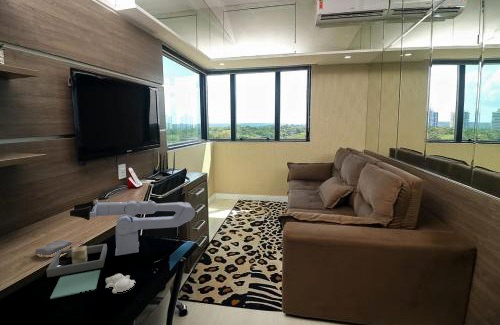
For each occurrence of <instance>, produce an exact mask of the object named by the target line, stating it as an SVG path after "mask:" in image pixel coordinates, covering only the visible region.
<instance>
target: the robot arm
mask: <svg viewBox="0 0 500 325" xmlns="http://www.w3.org/2000/svg"><path fill="white" fill-rule="evenodd" d="M156 212H175V213H174V215H172V216H157V217H156V216H153V217H151V216H150V217H137V215H138V214H139V215H149V214H150V215H151V214H155V213H156ZM104 216H106V217H107V216H119V217H118V218H117V219H116V220H117V221H116V225H115V246H116V248H115V252H114V253H115V254H114V256H121V255H129V254H134V253H139V247H140V241H139V230H150V229H165V228H167V229H168V228H178V227H180V226H182V225H184V224H185V223H187V222H191V221H192V220H193V219H194V217H195V216H196V210H195V208H194V207H193V206H192V204H191V203H190V202H188V201H187V202H186V201H184V202H183V201H177V202H163V203H162V202H161V203H157V202H155V201H153V200H152V199H148V201H147V200H145V201H144V200H143V201H140V200H137V201H135V200H133V199H130V200H127V201H122V202H121V201H114V202H111V201H110V202H106V201H105V202H99V200H98V199H96V200H95V202H94V199H91V200H89V201H87V202H82V203H77V204H73V209H72V210H69V217H74V218H79V219H80V218H81V219H84V220H87V221H90V219H91V218H97V217H104Z"/></svg>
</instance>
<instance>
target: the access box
mask: <svg viewBox="0 0 500 325" xmlns="http://www.w3.org/2000/svg"><path fill="white" fill-rule="evenodd" d="M86 247H87V255H89V254H98V253H101V254H100V256H99V259H97V260H91V261H86V262H83V263H77V264H72V263H71V264H67V265H65V264H64V265H59V264H60V262H59V257H60V255H61V254H64V253H68V256H67V257H66V258H72V250H73V248H70V249H67V250H61V251H58V252H57V254H56V255H55V256H54V257H53V258H52V260H51V262H50V263H49V265H48V267H47V268H46V278H51V277H56V276H57V277H59V276H62V275H63V276H65V275H70V274H76V273H79V272H81V273H82V272H85V271H86V272H87V271H92V270H96V269H97V270H98V269H102V268H104V266H105V260H106V256H107V253H108V252H107V251H108V245H107V243H103V244H102V243H101V244H97V245H89V246H86ZM58 265H59V266H58ZM56 266H57V267H56Z"/></svg>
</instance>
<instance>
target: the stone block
mask: <svg viewBox="0 0 500 325" xmlns="http://www.w3.org/2000/svg"><path fill="white" fill-rule="evenodd" d="M71 244H73V245H74V243H73V241H71V240H68V239H58V240H55V241H52V242H50V243H48V244H46V245H45V246H42V247H39V248H37V249H35V252H34V253H35V255H36V254H40V255H41V254H42V255H51V254H53V253H55V252H57V251H59V250H61V249H63V248H65V247H67V246H69V245H71Z"/></svg>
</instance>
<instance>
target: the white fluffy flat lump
mask: <svg viewBox="0 0 500 325" xmlns="http://www.w3.org/2000/svg"><path fill="white" fill-rule="evenodd" d="M130 277H131V275H129V274H128V275H127V274H126V275H123V274H122V273H115V274H114V275H112V276H109V277H105V284H106V285H105V289H106V288H109V287H113V289H112V291H111V293H112V294H118V293H117V292H123V291H126V290H129V289H130V288H132V287H133V286H134V287H135V284H136V281H135V279H130ZM134 283H135V284H134ZM134 287H133V288H134ZM133 288H132V289H133ZM109 289H110V288H109ZM130 290H131V289H130ZM130 290H129V291H130ZM126 292H127V291H126ZM123 293H124V292H123Z"/></svg>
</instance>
